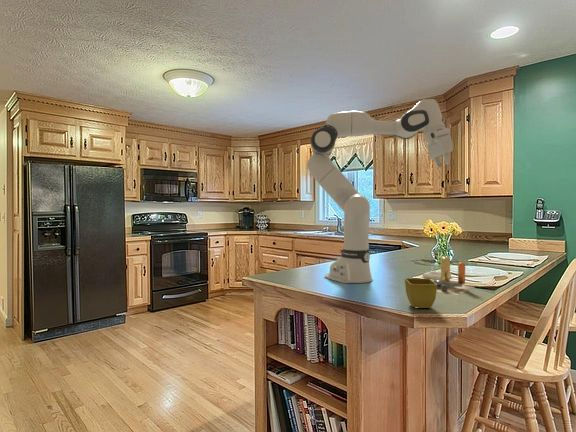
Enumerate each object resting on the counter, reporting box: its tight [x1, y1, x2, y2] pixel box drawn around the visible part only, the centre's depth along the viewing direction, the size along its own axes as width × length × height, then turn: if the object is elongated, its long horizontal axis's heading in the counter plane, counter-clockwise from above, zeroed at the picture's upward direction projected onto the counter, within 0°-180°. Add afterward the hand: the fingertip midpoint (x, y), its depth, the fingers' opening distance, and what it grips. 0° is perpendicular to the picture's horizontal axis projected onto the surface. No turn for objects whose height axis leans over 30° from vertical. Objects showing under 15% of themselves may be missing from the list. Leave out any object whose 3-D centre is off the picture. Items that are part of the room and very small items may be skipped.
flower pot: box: [404, 277, 437, 309], centre depth 122 cm, size 9×9×9 cm
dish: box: [422, 270, 452, 280], centre depth 163 cm, size 9×9×2 cm
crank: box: [433, 261, 466, 287], centre depth 144 cm, size 12×5×9 cm, turn 68°
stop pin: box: [440, 256, 451, 282], centre depth 151 cm, size 4×4×11 cm
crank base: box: [431, 279, 476, 296], centre depth 145 cm, size 18×17×3 cm
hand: (443, 165), depth 156 cm, fingers open, 8 cm apart
